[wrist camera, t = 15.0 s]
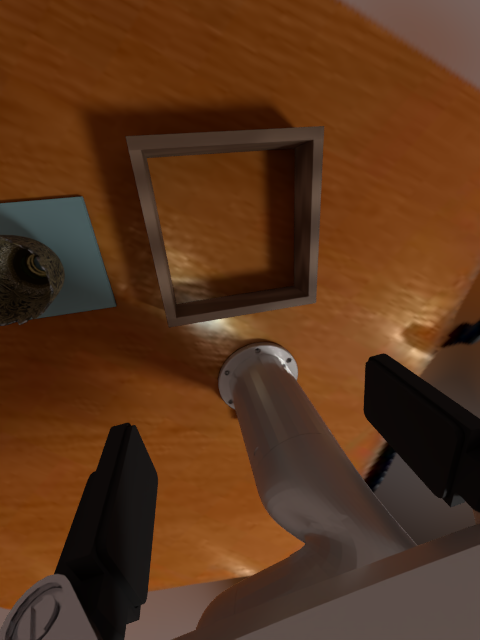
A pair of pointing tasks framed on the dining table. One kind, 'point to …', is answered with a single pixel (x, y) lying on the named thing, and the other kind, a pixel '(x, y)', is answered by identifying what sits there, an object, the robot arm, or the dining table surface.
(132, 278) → the dining table surface
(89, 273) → the light blue square plate
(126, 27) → the dining table surface
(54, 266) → the dark rounded piece
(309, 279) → the grey square frame
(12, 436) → the dining table surface
